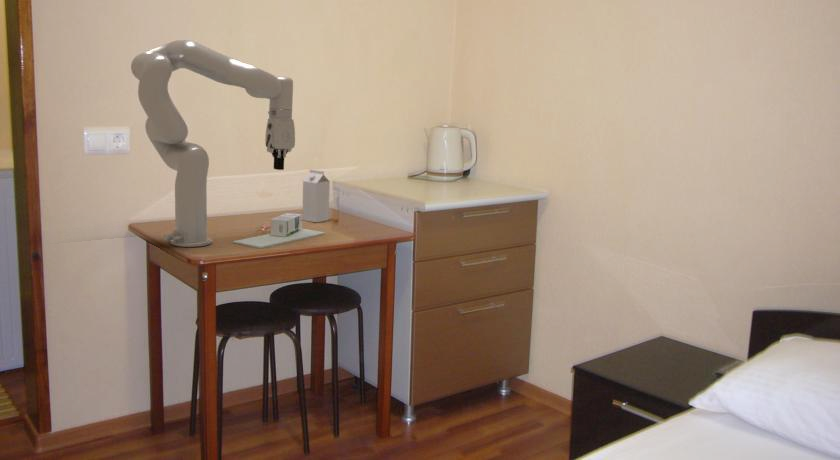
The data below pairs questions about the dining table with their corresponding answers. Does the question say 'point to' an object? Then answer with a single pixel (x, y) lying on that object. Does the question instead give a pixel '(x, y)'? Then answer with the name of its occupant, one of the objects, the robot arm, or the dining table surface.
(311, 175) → the milk carton
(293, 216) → the syrup box
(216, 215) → the dining table surface
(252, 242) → the mat
